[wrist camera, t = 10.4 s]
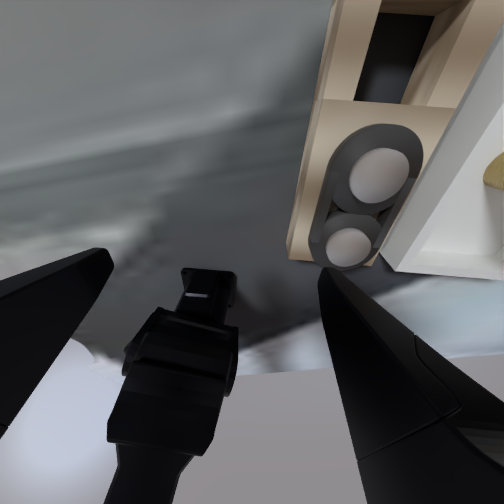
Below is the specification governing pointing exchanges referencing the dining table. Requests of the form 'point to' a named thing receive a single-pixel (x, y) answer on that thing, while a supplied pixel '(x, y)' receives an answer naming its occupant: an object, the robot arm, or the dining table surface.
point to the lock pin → (495, 173)
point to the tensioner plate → (418, 99)
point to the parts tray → (459, 189)
